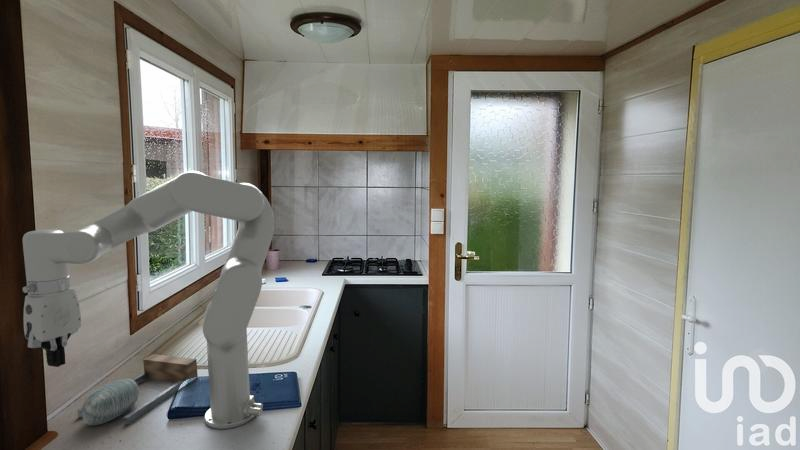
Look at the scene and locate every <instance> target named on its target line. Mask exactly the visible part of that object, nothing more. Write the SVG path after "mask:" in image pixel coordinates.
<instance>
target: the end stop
mask: <svg viewBox="0 0 800 450" xmlns="http://www.w3.org/2000/svg"><path fill="white" fill-rule="evenodd" d="M197 361H198V360H197V358H192V357H190V358H189V357H182V356H172V355H162V354H156V353H153V354H150V355H148V356H147V357H146V358H145V357H144V358H143V361H142V363H143V373H144V372H147V373H148V379H147V380H154V381H163V382H168V383H169V382H171V383H177V382H178V381H180V380H181V379H183V378H184V377H187V378H188V379H191V378H194V377H198V365H197V364H198V363H197ZM198 378H199V377H198Z"/></svg>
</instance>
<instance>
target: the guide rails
mask: <svg viewBox="0 0 800 450" xmlns="http://www.w3.org/2000/svg"><path fill="white" fill-rule="evenodd" d="M132 380H133V381H135V382H136V384H137V385H138V386H139V385H141V384H142V383H144V382H145V381H147V380H149V379H148V373H147V372H144V371H143V372H142V373H140V374H139V375H137V376H135V377H133V378H132ZM186 380H188V378H187V377H184V378H183V379H181V380H180V381H178V382H177V383H176V382H174V384H172V385H171V386H169V387H168V388H166V389H165V390H163V391H162V392H160V393H158V394H157V395H156V396H153V397H152V398H151V399H149V400H148V401H146V402H144V403H143V404H142V405H140V406H137V408H136V409H134V410H132V411H131V412H129V413H128V414H126V415H125V416H123V425H124V426H129V425H131V424H132V423H134V422H135V421H137V420H138V419H140V418H141V417H143V416H144V415H146V414H148V412H150V411H152V410H153V409H155V408H156V407H157V406H159V405H161V404H162V403H163V402H164V401H166V400H167V399H168V400H169V398H170V397H172V396H173V395H175V394H176V393H177V392H176V391H177V390H178V388H179V386H180V385H181V384H182V383H183V382H184V381H186ZM76 411H77V417H79V418H80V419H83V418H82V407H80V408H79V409H77V410H76Z"/></svg>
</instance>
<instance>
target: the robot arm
mask: <svg viewBox="0 0 800 450" xmlns="http://www.w3.org/2000/svg"><path fill="white" fill-rule="evenodd" d="M130 200H131V201H129V202H128V203H127V204H125V206H123V207H121V208H120V209H118V210H116V211H114V212H112V213H110V214H108V215H107V216H106V215H105V216H104V217H103V218H100V219H98V220H96V221H94V222H92V223H90V224H88V225H85V226H83V227H81V228H79V229H75V230H72V231H65V232H64V231H63V230H61V229H50V228H49V229H37V230H31V231H27V232H26V233H24V235H23V237H22V250H23V257H24V269H25V278H26V286H23V287H22V292H23V293H25V294H26V293H27V295H25V297H24V305H23V332H24V338H25V339H26V340H27V348H31V349H37V348H41V349H42V350H43V351H45V354H46V363H47V366H49V367H56V368H60V367H61V366H63V365H65V364H66V354H65V353H66V352H65V350H66V349H65V348H66V347H67V344H68V340H69V339H70V337H71V336H72V335H74V334H76V333H77V332H78V331H79V329H80V328H82V325H83V323H82V321H83V320H82V319H83V318H82V312H81V308H80V302H79V299H78V295H77V293H76V290H75V288H74V286H73V287H71V281H70V280H71V279H70V278H71V277H70V268H69V266H70V265H69V264H71V265H85V264H89V263H93V262H94V261H96V260H97V259H99V258H100V257H101V256H103V255H105V254H107V253H108V252H110V251H112V250H114V249H115V248H117V247H119V246H121V245H124V244H125V243H127V242H129V241H130V240H133V239H134V238H137V237H139V236H141V235H144V234H146V233H153V232H155V231H157V230H159V229H161V228H163V227H166V226H167V225H169V224H171V223H172V222H175V221H176V220H178V219H180V218H182V217H184V216H186V215H187V214H189V213H192V212H195V213H199V214H204V215H208V216H212V217H219V218H223V219H227V220H231V221H237V222H238V227H237V228H238V229H237V231H236V235H235V237H234V240H233V243H232V246H231V249H230V251H229V254H228V256H227V259H226V261H225V263H224V265H223V266H222V268H221V271H220V274H219V278H218V279H219V280H218V282H217V285H216V288H215V290H214V292H213V296H212V299H211V300H210V301H209V303H208V304H207V306H206V308H205V312H204V315H203V321H202V329H201V330H202V335H203V336H204V338H205V340H206V349H207V350H206V353H207V370H208V371H207V373H208V383H209V385H208V386H209V387H208V388H209V401H210V402H209V403H210V408H209V409H208V410H206V412H205V414H204V422H205V424H206V425H207V426H208V427H210V428H212V429H220V430H221V429H222V430H223V429H233V428H236V427H239V426H242V425H245V424H247V423H248V422H250V421H252V420H253V419H254V418H255V417H256V416H257V417H261V416H262V415H263V409H264V403H262V402H255V396H254V395H251V392H250V390H251V388H250V373H249V371H250V370H249V353H248V352H249V350H248V349H249V347H248V333H247V332H248V331H247V329H248V326H249V323H250V321H251V318H252V316H253V313H254V311H255V308H256V305H257V303H258V299H259V297H260V294H261V291H262V287H263V274H262V271H263V267H264V264H265V261H266V258H267V255H268V252H269V249H270V246H271V243H272V240H273V235H274V231H275V217H274V216H275V215H274V211H273V208H272V205H271V204H270V202H269V201H268V198H267V197H266V196H265V195H264V194H263V192H262V190H260V189H259V188H258V187H256V185H253V184H252V183H249V182H234V181H230V180H225V179H221V178H217V177H213V176H211V175H207V174H205V173H203V172H200V171H198V170H190V171H185V172H183V173H180V174H179V175H177V176H176V177H174V178H172V179H170V180H169V181H168V180H167V181H166V182H165V183H162V184H160V185H158V186H156V187H155V188H153V189H151V190H149V191H147V192H146V191H145V192H144V193H142V194H141V195H138V196H136V197H135V198H133V199H130Z"/></svg>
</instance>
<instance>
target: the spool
mask: <svg viewBox="0 0 800 450" xmlns="http://www.w3.org/2000/svg"><path fill="white" fill-rule="evenodd" d="M132 379H133V378H132ZM132 379H131V378H121V379H116V380H114V381H111V382H108V383H106V384H103V385H102V386H99V387H98V388H97V389H95V390H94V391H92V392H91V393H90V394H88V396H87V397H86V398H85V400H84V402H83V404H82V407H81V408H82V418H81V419H83V421H84V423H85V424H88V425H89V426H99V425H103V424H107V423H108V422H110V421H112V420H115V419H116V418H118V417H120V416H122V415H123V414H124V413H126V412H128V411H129V410H131V408H132V407H133V406H134V405H135V404H136V402H137V401H138V397H139V385H137V384H136V382H135V381H133V380H132Z"/></svg>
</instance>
